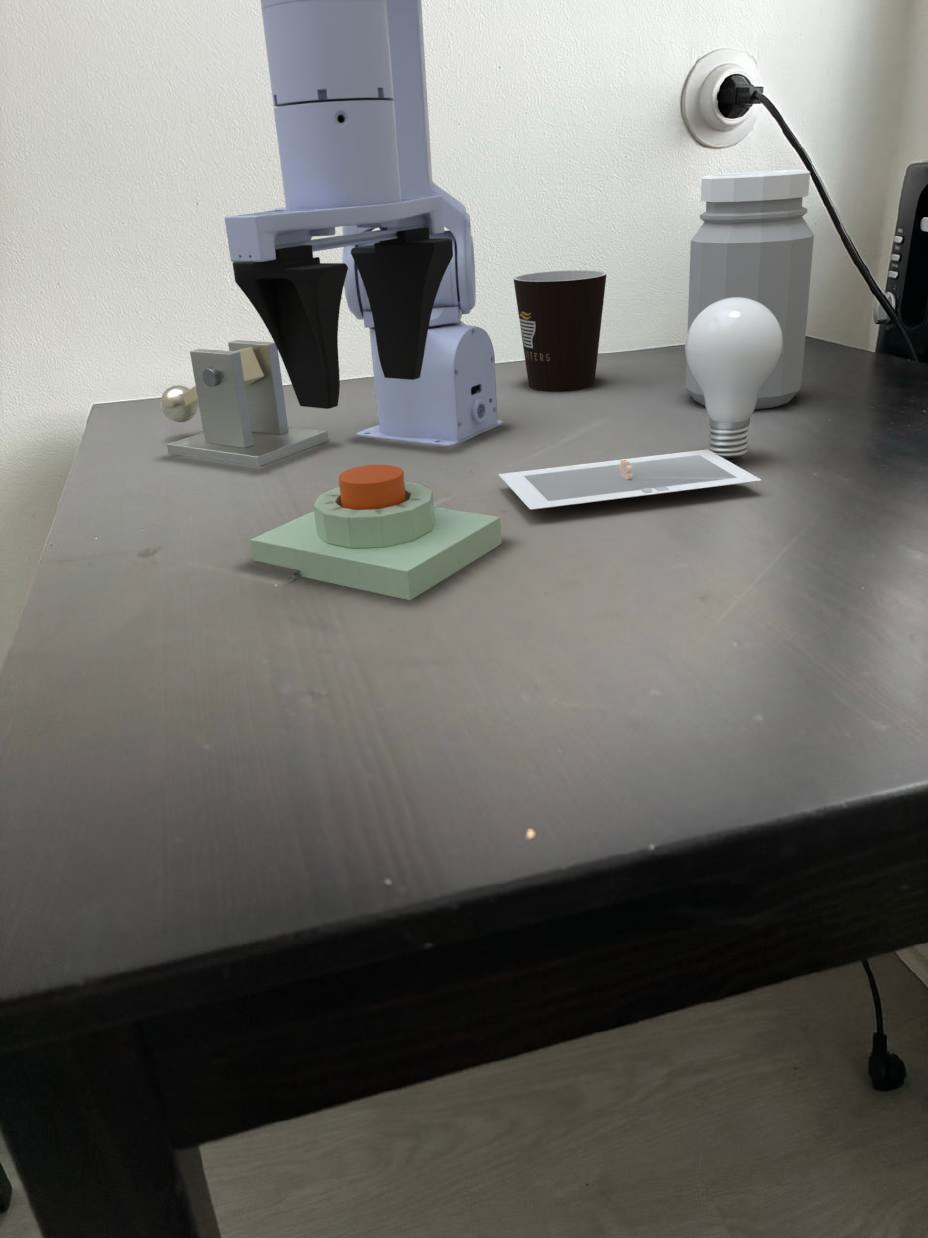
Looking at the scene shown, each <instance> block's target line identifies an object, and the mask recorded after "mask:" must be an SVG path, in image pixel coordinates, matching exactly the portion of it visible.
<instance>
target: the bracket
mask: <svg viewBox="0 0 928 1238" xmlns="http://www.w3.org/2000/svg"><path fill="white" fill-rule="evenodd" d="M227 345H228V350H222V349H221V350H219V349H206V348H205V349H204V348H197V349H193V350H190V351H189V354H190V360H191V366H192V373H193V378H194V384H195V385H194V386H196V391H197V397H198V409H199V414H200V419H201V426H202V432H201V433H197V434H194V435H190V436H188V437H187V436H186V437H185V438H181V439H179V440H175V441H172V442H168V443H167V444H166V448H167V453H168V454H169V455H176V456H183V457H189V458H197V459H202V460H209V461H215V462H216V461H217V462H222V463H231V464H236V465H242V466H250V467H256V468H260V467H264V466H266V465H268V464H271V463H274V462H276V461H279V460H281V459H284V458H286V457H289V456H292V455H295V454H297V453H300V452H303V451H306V450H308V449H311V448H313V447H316V446H318V445H321V444H324V443H327V442H329V440H330V439H329V434H328V433H329V432H328V431H326V430H319V429H318V430H317V429H309V428H301V427H294V426H293V427H292V426H289V423H288V416H287V410H286V409H287V408H286V401H285V394H284V386H283V378H282V371H281V363H280V354H279V351H278V349H277V347H276V345H275V342H274V341H257V340H240V339H239V340H238V339H236V340H231V341H228V342H227ZM249 347H252V349H253V352H254V354H255V356H256V358H257V361H258V363H259V365H260V367H261V370H262V372H263V374H264V377H262V378H260V379H258V380H256V381H255V382H253V383H251V384H249V385H248V386H246V387H245V383H244V376H243V369H242V363H241V356H240V352H237V350H241V349H245V348H249Z"/></svg>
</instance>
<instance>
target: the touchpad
mask: <svg viewBox="0 0 928 1238" xmlns="http://www.w3.org/2000/svg"><path fill="white" fill-rule="evenodd" d="M498 476H499V477H500V478H501V479H502V481H503V482H504V483H505V484H506V486H508V487H509V488H510V489H511V491H512V492H513V493H514V494H515V495H516V496H517V497H518V498H519V499H520V500H521V502H523V504H524V505H525V506H526V507H527V508H528V509H529V510H539V509H547V508H556V507H564V506H570V505H571V506H572V505H580V504H589V503H594V502H595V503H596V502H603V501H610V500H618V499H620V500H621V499H626V498H627V499H628V498H635V497H636V498H637V497H642V496H643V497H644V496H651V495H659V494H667V493H674V492H675V493H676V492H683V491H691V490H698V489H706V488H707V489H709V488H713V487H714V488H715V487H723V486H731V485H739V484H745V483H746V484H747V483H755V482H762V481H763V479H761V478H759V477H758V476H755V475H754V474H752V473H750V472H749V471H747V470H745V469H743V468H742V467H740V466H738V465H737V464H734V463H733V462H732V461H727V460H726V459H724V458H722V457H720V456H719V455H717V454H715V453H713V452H712V451H710V450H708V448H707V449H699V450H690V451H683V452H681V451H680V452H674V453H673V452H672V453H665V454H657V455H648V456H639V457H631V458H622V459H615V460H614V459H613V460H606V461H597V462H589V463H580V464H573V465H564V466H555V467H547V468H538V469H530V470H521V471H511V472H505V473H498Z"/></svg>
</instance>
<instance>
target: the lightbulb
mask: <svg viewBox="0 0 928 1238" xmlns="http://www.w3.org/2000/svg"><path fill="white" fill-rule="evenodd" d="M687 333H688V334H686V338H685V345H684V355H685V360H686V361H687V364H688V367H689V370H690V372H691V374H692V375H693V377H694V379H695V380H696V382H697V383H698V385H699V387H700V388H701V390H702V392H703V395H704V399H705V410H706V413H707V416H708V417H709V426H710V428H709V429H708V430H709V433H710V434H709V435H708V437H709V441H708V444H709V446H708V447H707V449H708V450H710V451H712V452H713V453H715V454H717V455H719V456H720V457H722V458H724V459H726V460H727V461H729V462H733V461H735V460H736V459H737V460H738V459H739V458H740V457H742V456H744V455H746V454H747V453H748V451H749V449H748V447H749V443H748V442H749V437H748V436H750V435H749V434H750V431H749V430H750V423H751V422H750V421H751V417H752V416H753V413H754V412H755V410H756V409H755V406H756V402H757V398H758V395H759V393H760V391H761V389H762V388H763V386H764V385H765V384H766V382H767V381H768V380H769V378H770V377H771V375H772V374H773V372H774V371H775V369H776V367H777V365H778V363H779V361H780V358H781V354H782V349H783V337H782V331H781V328H780V325H779V323H778V321H777V319H776V317H775V316H774V314H773V313H772V312H771V311H770V310H769V309H768V308H767V307H766V306H764V305H763V304H761V303H759V302H757V301H755V300H752V299H749V298H743V297H731V298H726V299H722V300H719V301H717V302H715V303H713V304H711V305H709V306H708V307H707V308H705V309H704V310H703V311H702V312H701V313H700V314H699V315H698V316H697V317H696V319H695V320H694V321H693V323H692V325H691V327H690V329H689V331H688V330H687Z"/></svg>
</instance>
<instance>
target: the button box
mask: <svg viewBox="0 0 928 1238" xmlns="http://www.w3.org/2000/svg"><path fill="white" fill-rule="evenodd" d="M404 483H405V495H406V501H405V502H403V503H401V504H399V505H396V506H391V507H386V508H381V509H371V510H353V509H347V508H342V504H341V495H340V487H339V486H337V487H334V488H332V489H330V490H328V491H325V492H322V493H321V494H319V495H318V496H317V498H316V499H315V501H314V503H313V505H312V506H313V510H312V511H310V512H308V513H305V514H303V515H301V516H299V517H297V518H295V519H292V520H290V521H288V522H286V523H284V524H281V525H280V526H277V527H275V528H272V529H270V530H268V531H266V532H263V533H262V534H259V535H257V536H255V537H253V538H252V537H251V538H250V547H251V552H252V559H253V562H258V563H264V564H268V565H273V566H278V567H282V568H287V569H292V570H296V571H297V572H294V573H293V574H291V575H293V576H298V577H301V578H306V579H312V580H316V581H320V582H324V583H329V584H333V585H338V586H343V587H347V588H352V589H356V590H361V591H366V592H370V593H375V594H380V595H382V596H383V595H384V596H388V597H393V598H398V599H401V600H407V601H412V600H413V599H415V598H417V597H419V596H420V595H421V594H423V593H425V592H426V591H428V590H429V589H432V588H433V587H434V586H436V585H438V584H439V583H441V582H442V581H445V579H447V578H449V577H450V576H452V575H453V574H455V573H457V572H458V571H460V570H462V569H463V568H466V567H467V566H468V565H470V564H472V563H473V562H474V561H476V560H478V559H479V558H481V557H482V556H484V555H486V554H487V553H490V551H492V550H494V549H495V548H497V547H499V546H500V545H502V525H501V524H502V523H501V517H500V516H495V515H489V514H482V513H476V512H470V511H464V510H457V509H451V508H444V507H438V506H434V494H433V490H432V489H430V488H428V487H426V486H425V485H423V484H421V483H420V482H412V481H406V480H404Z"/></svg>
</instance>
